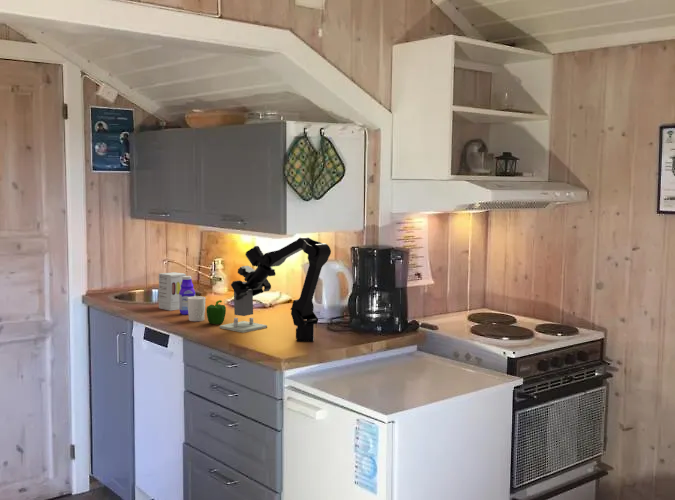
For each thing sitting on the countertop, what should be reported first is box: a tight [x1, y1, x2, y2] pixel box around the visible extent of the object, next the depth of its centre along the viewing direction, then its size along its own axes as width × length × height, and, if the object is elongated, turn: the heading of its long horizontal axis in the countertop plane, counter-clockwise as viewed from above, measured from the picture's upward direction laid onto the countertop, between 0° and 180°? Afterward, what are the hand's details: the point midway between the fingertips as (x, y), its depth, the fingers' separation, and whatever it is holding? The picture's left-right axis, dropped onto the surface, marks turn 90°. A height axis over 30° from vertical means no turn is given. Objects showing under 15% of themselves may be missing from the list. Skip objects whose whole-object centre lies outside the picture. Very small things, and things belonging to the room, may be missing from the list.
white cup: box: [187, 295, 206, 322], centre depth 326 cm, size 8×8×10 cm
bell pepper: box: [206, 299, 227, 325], centre depth 319 cm, size 8×8×10 cm
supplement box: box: [158, 271, 187, 312], centre depth 353 cm, size 10×9×17 cm
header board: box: [219, 317, 268, 334], centre depth 311 cm, size 14×14×4 cm
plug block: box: [233, 281, 254, 317], centre depth 310 cm, size 6×6×14 cm
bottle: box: [178, 275, 196, 315], centre depth 339 cm, size 7×6×17 cm
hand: (241, 298), depth 311 cm, fingers closed on plug block, 5 cm apart
